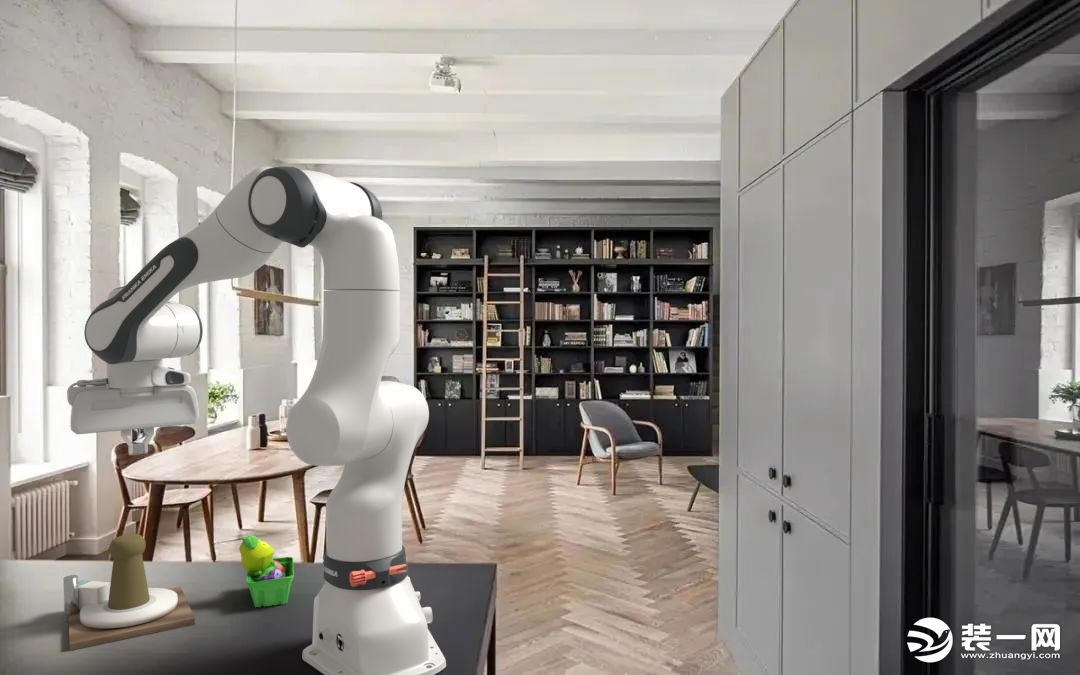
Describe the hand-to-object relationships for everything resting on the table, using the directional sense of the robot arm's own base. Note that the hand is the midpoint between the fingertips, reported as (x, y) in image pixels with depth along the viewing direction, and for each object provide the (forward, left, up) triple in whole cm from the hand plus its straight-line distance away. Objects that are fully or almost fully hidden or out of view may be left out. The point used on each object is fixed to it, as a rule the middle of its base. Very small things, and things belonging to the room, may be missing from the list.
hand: (138, 454), depth 134 cm
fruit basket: (-16, -18, -25) cm, 35 cm away
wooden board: (-13, +3, -25) cm, 28 cm away
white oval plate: (-11, +4, -24) cm, 26 cm away
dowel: (-8, +11, -25) cm, 28 cm away
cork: (-12, +3, -23) cm, 26 cm away
